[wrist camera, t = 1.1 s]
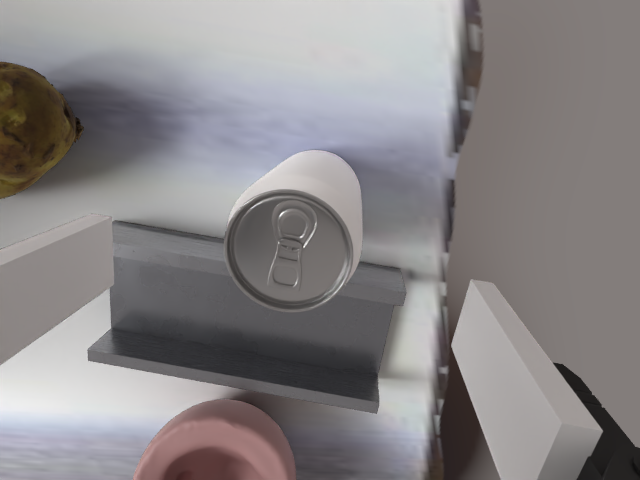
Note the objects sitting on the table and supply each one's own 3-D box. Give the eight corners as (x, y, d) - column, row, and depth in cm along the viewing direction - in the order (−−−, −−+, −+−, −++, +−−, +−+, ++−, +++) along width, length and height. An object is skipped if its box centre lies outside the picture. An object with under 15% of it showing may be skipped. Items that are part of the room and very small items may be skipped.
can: (370, 158, 27) (379, 195, 16) (351, 245, 29) (346, 334, 18) (277, 140, 27) (220, 164, 16) (265, 228, 29) (207, 305, 18)
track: (118, 332, 33) (88, 360, 30) (115, 220, 30) (80, 236, 26) (374, 378, 32) (376, 413, 29) (399, 268, 29) (406, 292, 25)
